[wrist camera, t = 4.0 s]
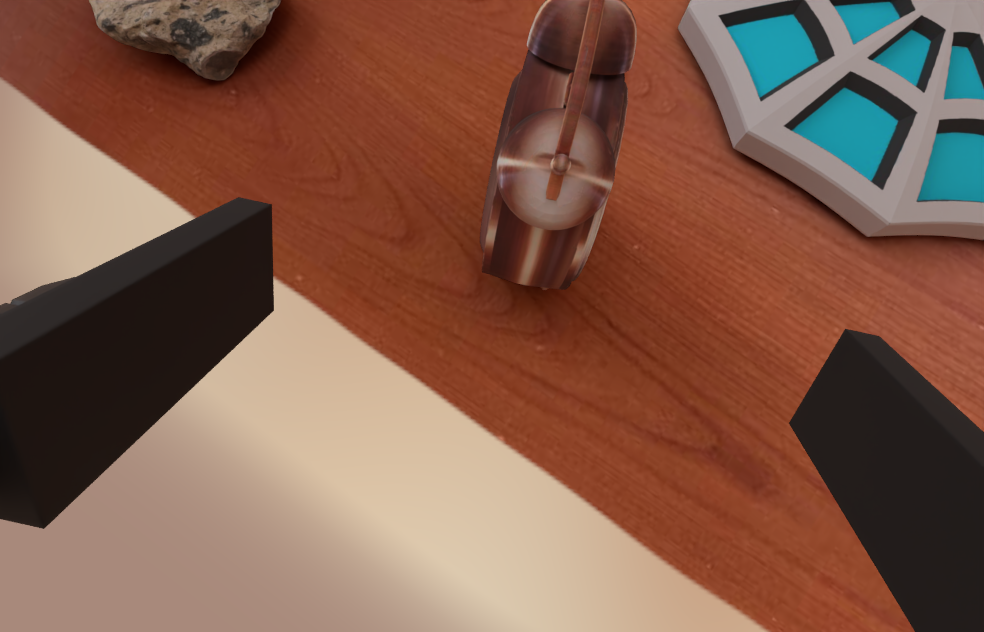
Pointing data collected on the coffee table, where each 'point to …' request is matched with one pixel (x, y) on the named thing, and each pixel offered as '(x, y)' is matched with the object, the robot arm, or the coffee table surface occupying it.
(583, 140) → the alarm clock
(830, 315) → the coffee table surface
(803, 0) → the decorative platform
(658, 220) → the coffee table surface
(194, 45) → the rock
